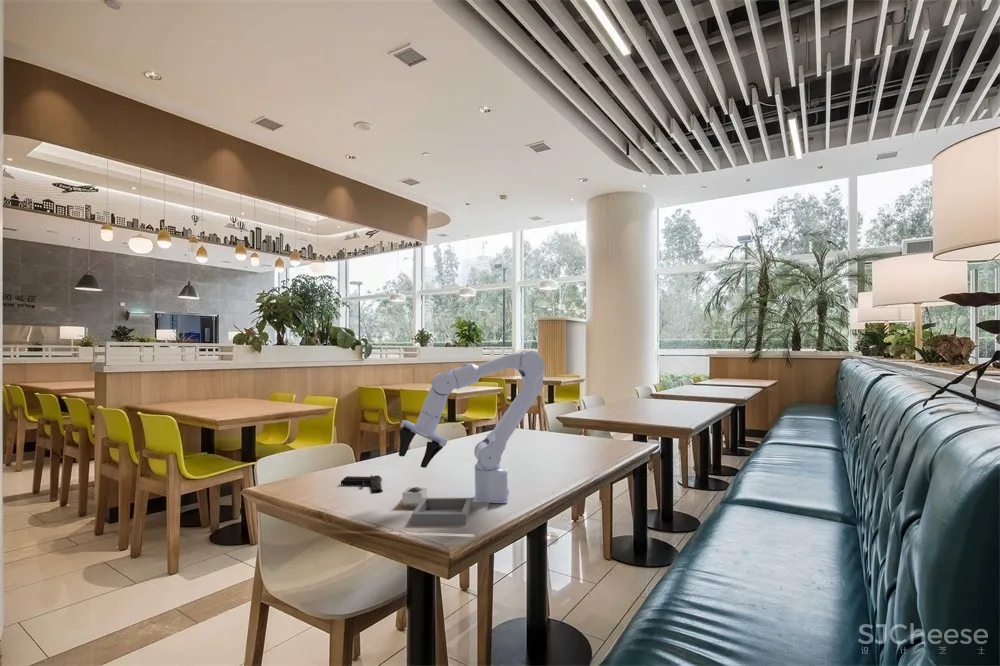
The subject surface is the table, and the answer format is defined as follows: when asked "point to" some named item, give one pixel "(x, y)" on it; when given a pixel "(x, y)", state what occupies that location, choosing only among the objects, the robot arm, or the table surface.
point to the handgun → (364, 482)
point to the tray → (442, 511)
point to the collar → (413, 497)
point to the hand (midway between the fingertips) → (412, 461)
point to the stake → (400, 507)
